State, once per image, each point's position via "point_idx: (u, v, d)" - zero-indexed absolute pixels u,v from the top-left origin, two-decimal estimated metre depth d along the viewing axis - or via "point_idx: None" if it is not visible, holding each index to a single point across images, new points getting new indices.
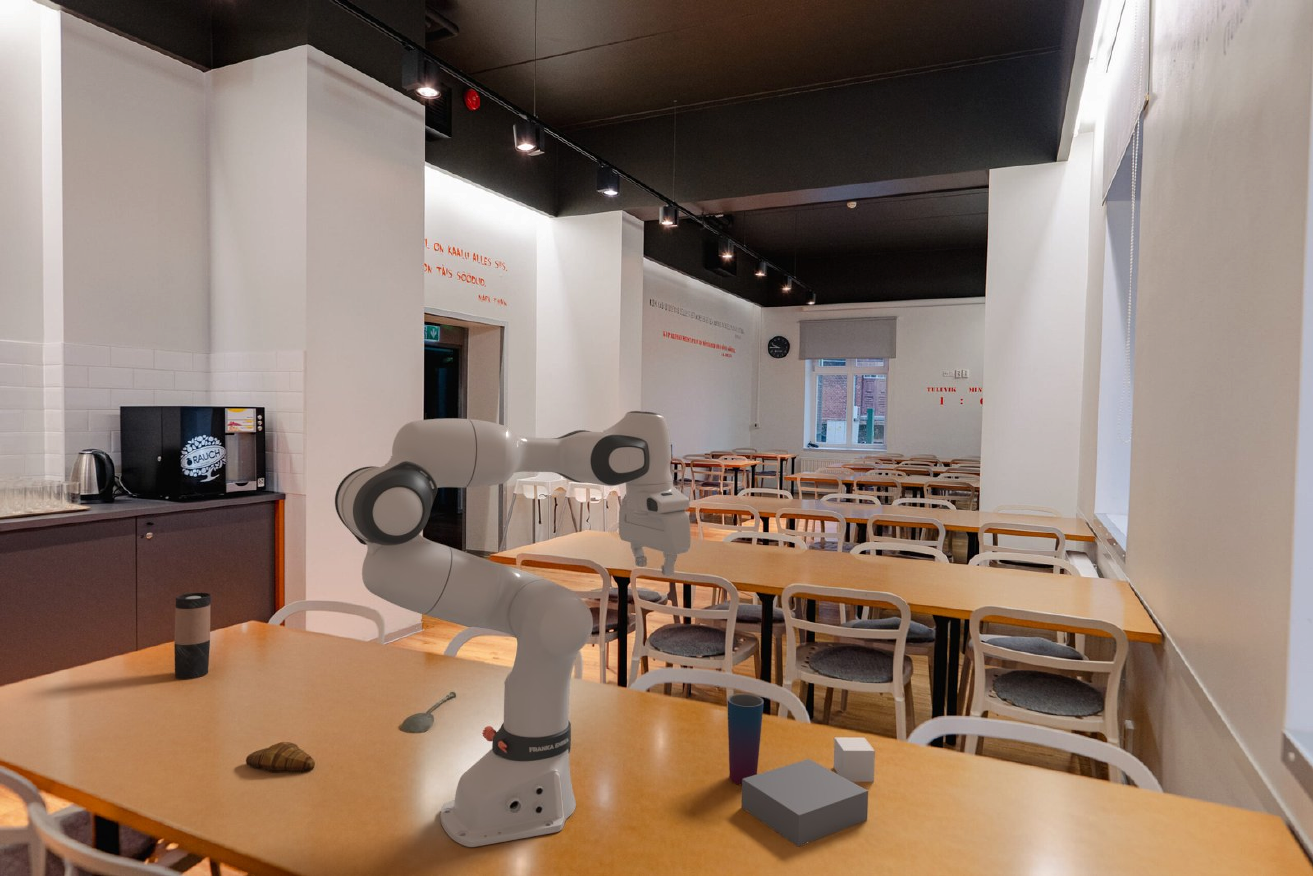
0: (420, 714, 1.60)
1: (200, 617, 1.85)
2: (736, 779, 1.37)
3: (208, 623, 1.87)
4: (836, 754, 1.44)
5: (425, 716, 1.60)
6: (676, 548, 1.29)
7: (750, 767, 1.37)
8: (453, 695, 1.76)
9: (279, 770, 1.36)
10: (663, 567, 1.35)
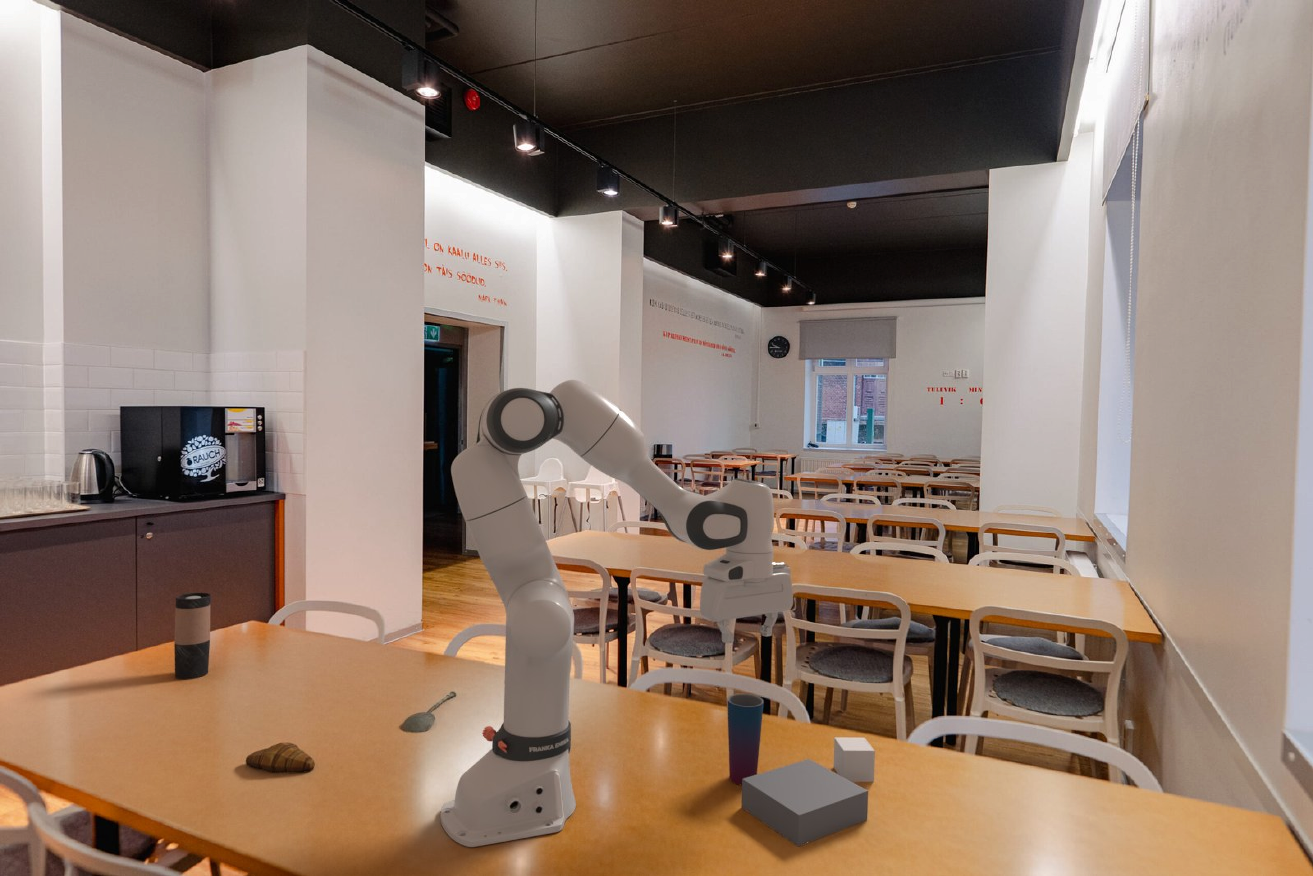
0: (421, 713, 1.60)
1: (200, 617, 1.85)
2: (736, 779, 1.37)
3: (208, 623, 1.87)
4: (836, 754, 1.44)
5: (426, 715, 1.60)
6: (700, 611, 1.34)
7: (750, 767, 1.37)
8: (453, 695, 1.76)
9: (278, 770, 1.36)
10: None
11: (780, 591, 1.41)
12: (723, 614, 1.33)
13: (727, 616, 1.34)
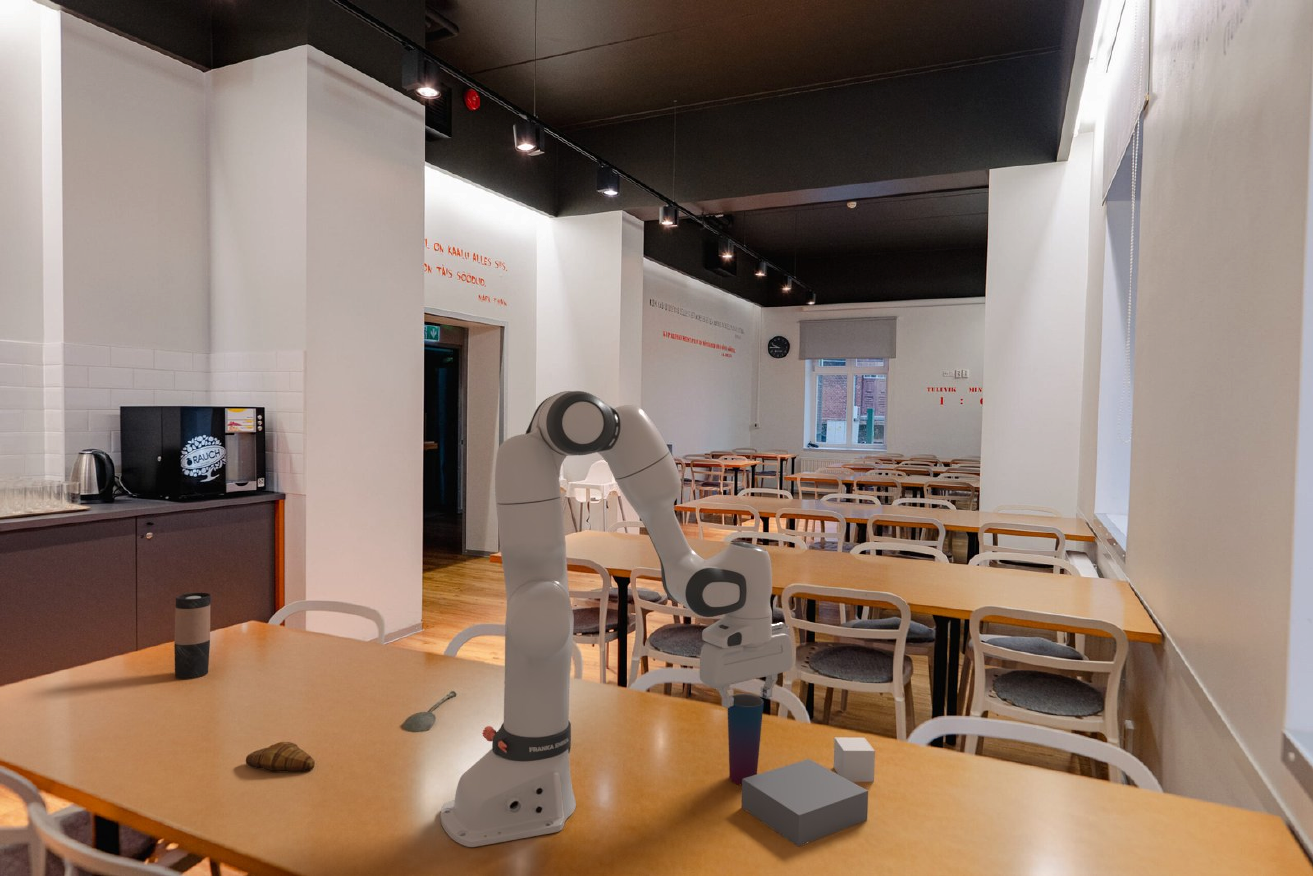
0: (422, 713, 1.61)
1: (200, 617, 1.85)
2: (736, 779, 1.37)
3: (208, 623, 1.87)
4: (836, 754, 1.44)
5: (427, 715, 1.60)
6: (700, 677, 1.35)
7: (750, 767, 1.37)
8: (453, 694, 1.77)
9: (278, 769, 1.36)
10: None
11: (779, 653, 1.41)
12: (723, 680, 1.34)
13: (727, 682, 1.34)
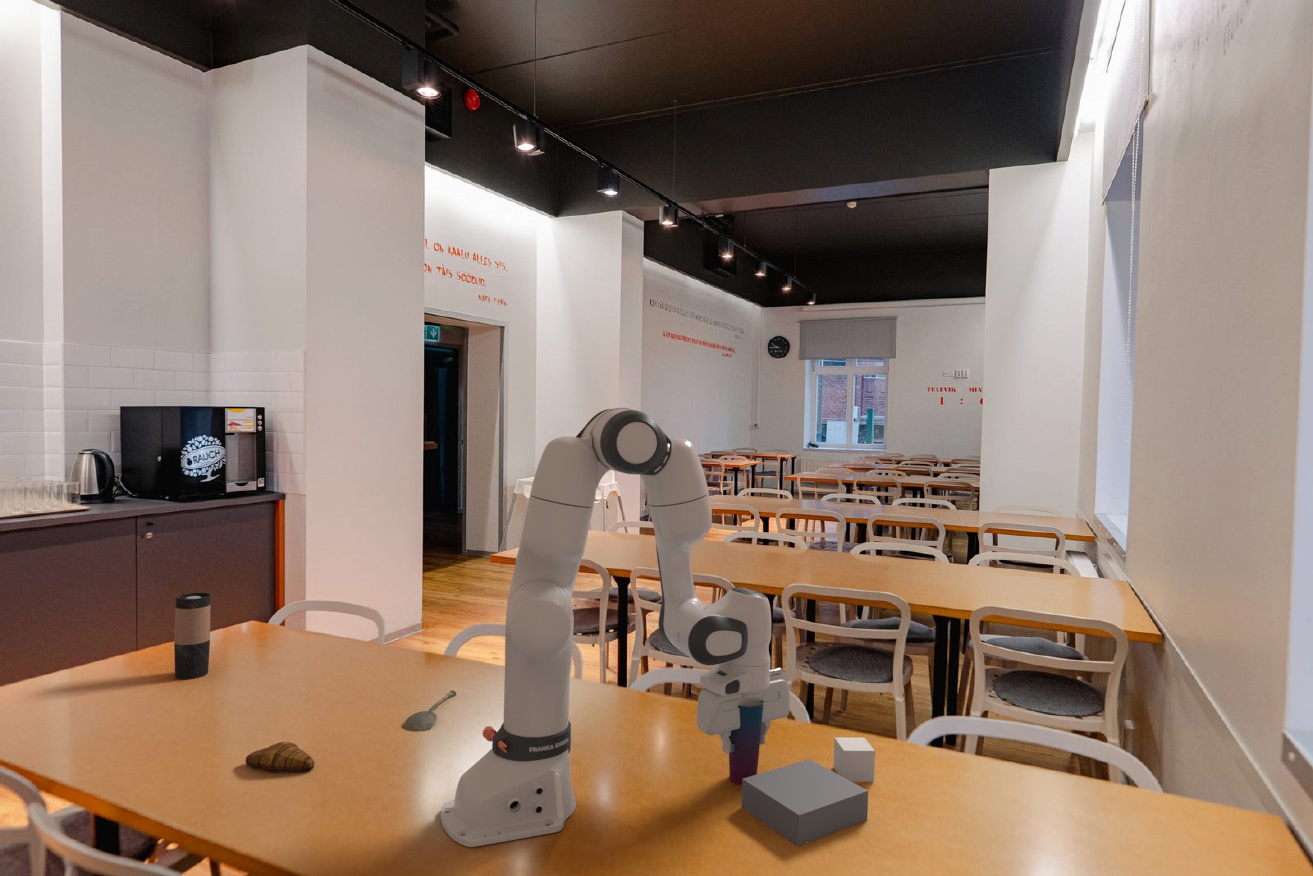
0: (423, 712, 1.61)
1: (200, 617, 1.85)
2: (736, 779, 1.37)
3: (208, 623, 1.87)
4: (836, 754, 1.44)
5: (428, 714, 1.61)
6: (697, 724, 1.35)
7: (750, 767, 1.37)
8: (453, 694, 1.77)
9: (278, 770, 1.36)
10: None
11: (777, 699, 1.41)
12: (720, 727, 1.34)
13: (724, 729, 1.34)
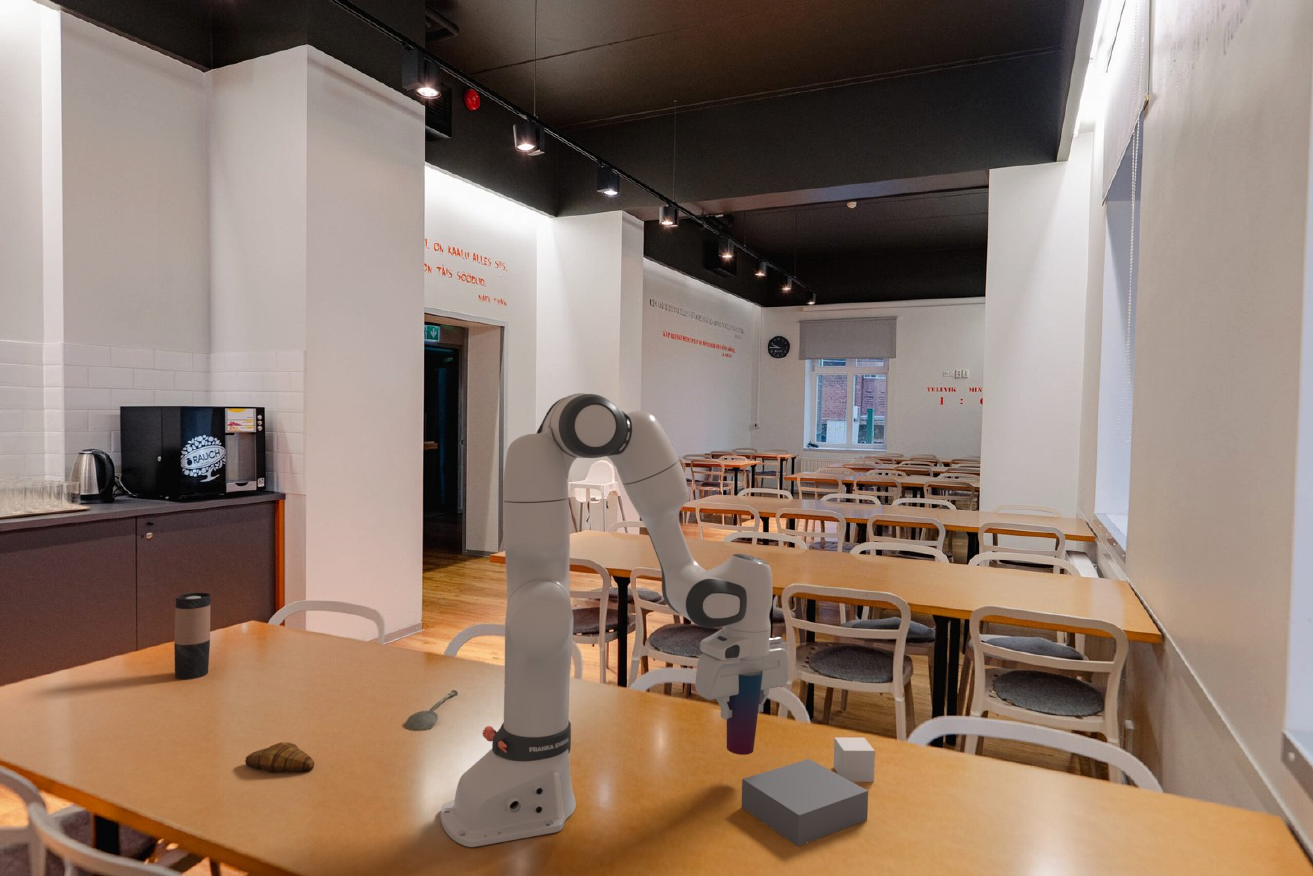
0: (424, 712, 1.61)
1: (200, 617, 1.85)
2: (733, 748, 1.37)
3: (208, 623, 1.87)
4: (836, 754, 1.44)
5: (429, 713, 1.61)
6: (696, 688, 1.34)
7: (747, 736, 1.36)
8: (455, 693, 1.77)
9: (278, 770, 1.36)
10: None
11: (776, 667, 1.41)
12: (718, 692, 1.33)
13: (722, 694, 1.34)
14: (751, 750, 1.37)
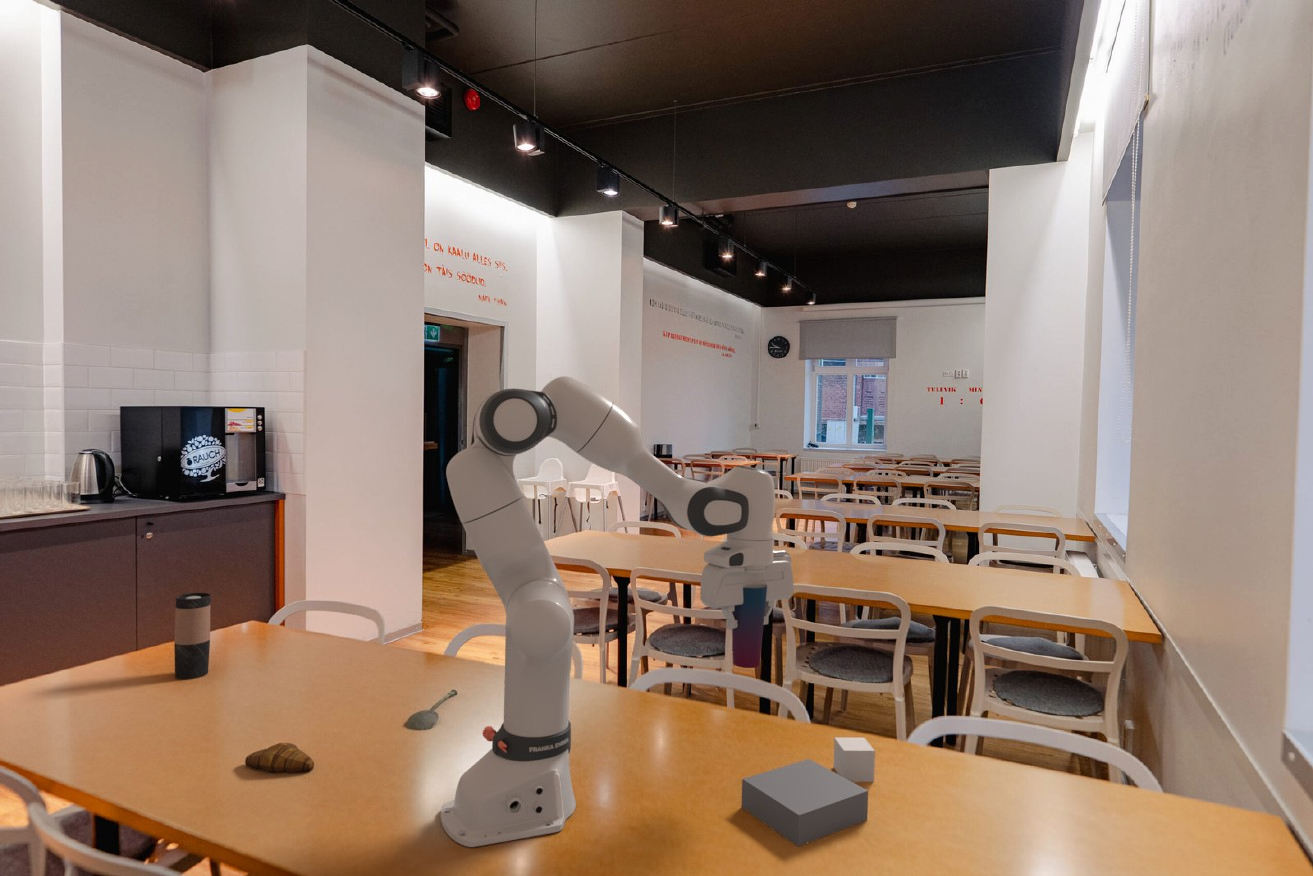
0: (424, 711, 1.62)
1: (200, 617, 1.85)
2: (739, 662, 1.37)
3: (208, 623, 1.87)
4: (836, 754, 1.44)
5: (430, 713, 1.61)
6: (701, 598, 1.34)
7: (753, 649, 1.36)
8: (454, 693, 1.78)
9: (278, 771, 1.36)
10: None
11: (781, 579, 1.41)
12: (723, 601, 1.33)
13: (727, 603, 1.34)
14: (757, 664, 1.37)
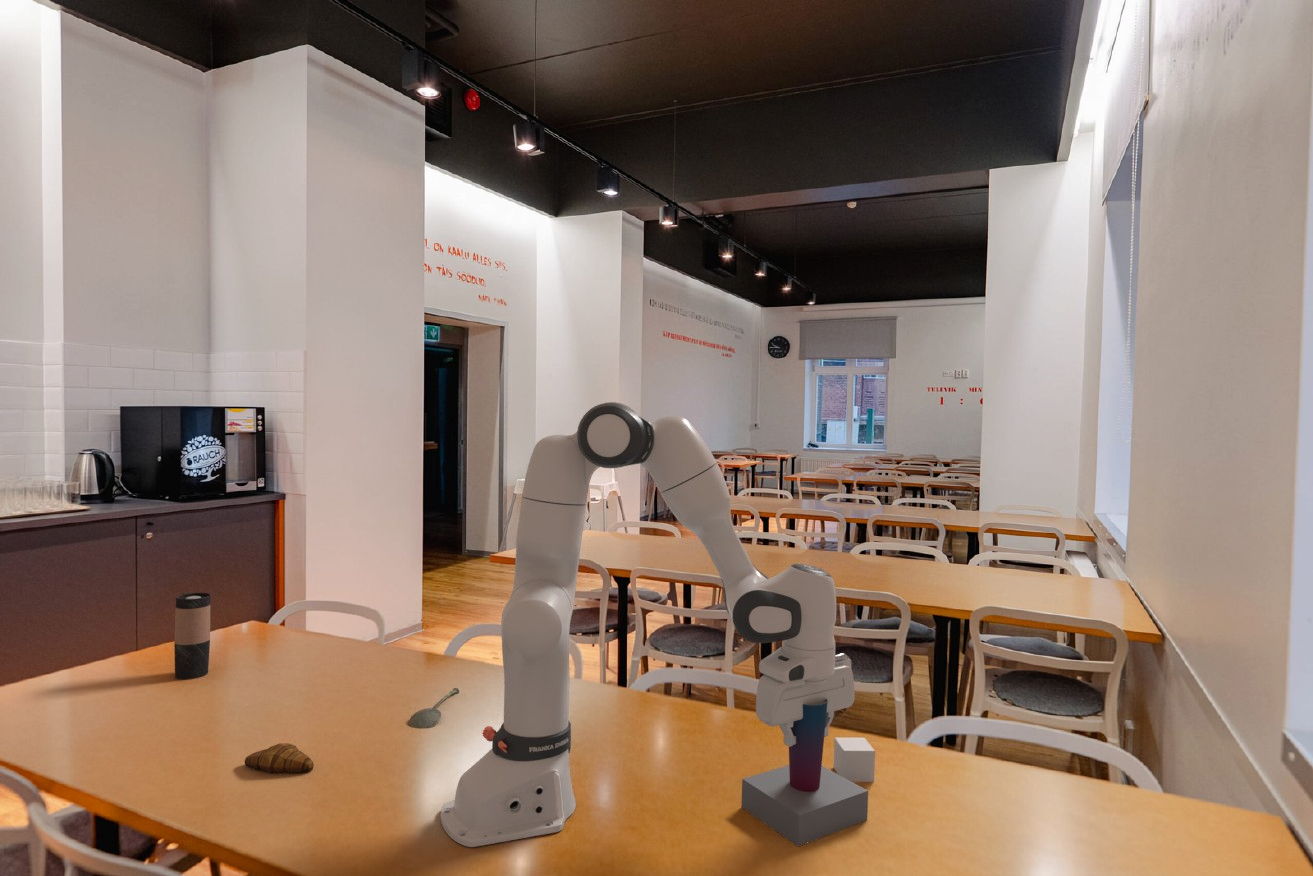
0: (427, 710, 1.63)
1: (200, 617, 1.85)
2: (798, 785, 1.25)
3: (208, 623, 1.87)
4: (836, 754, 1.44)
5: (433, 711, 1.62)
6: (757, 714, 1.23)
7: (814, 772, 1.25)
8: (456, 691, 1.79)
9: (277, 771, 1.36)
10: None
11: (841, 687, 1.29)
12: (782, 718, 1.21)
13: (786, 719, 1.22)
14: (818, 786, 1.25)
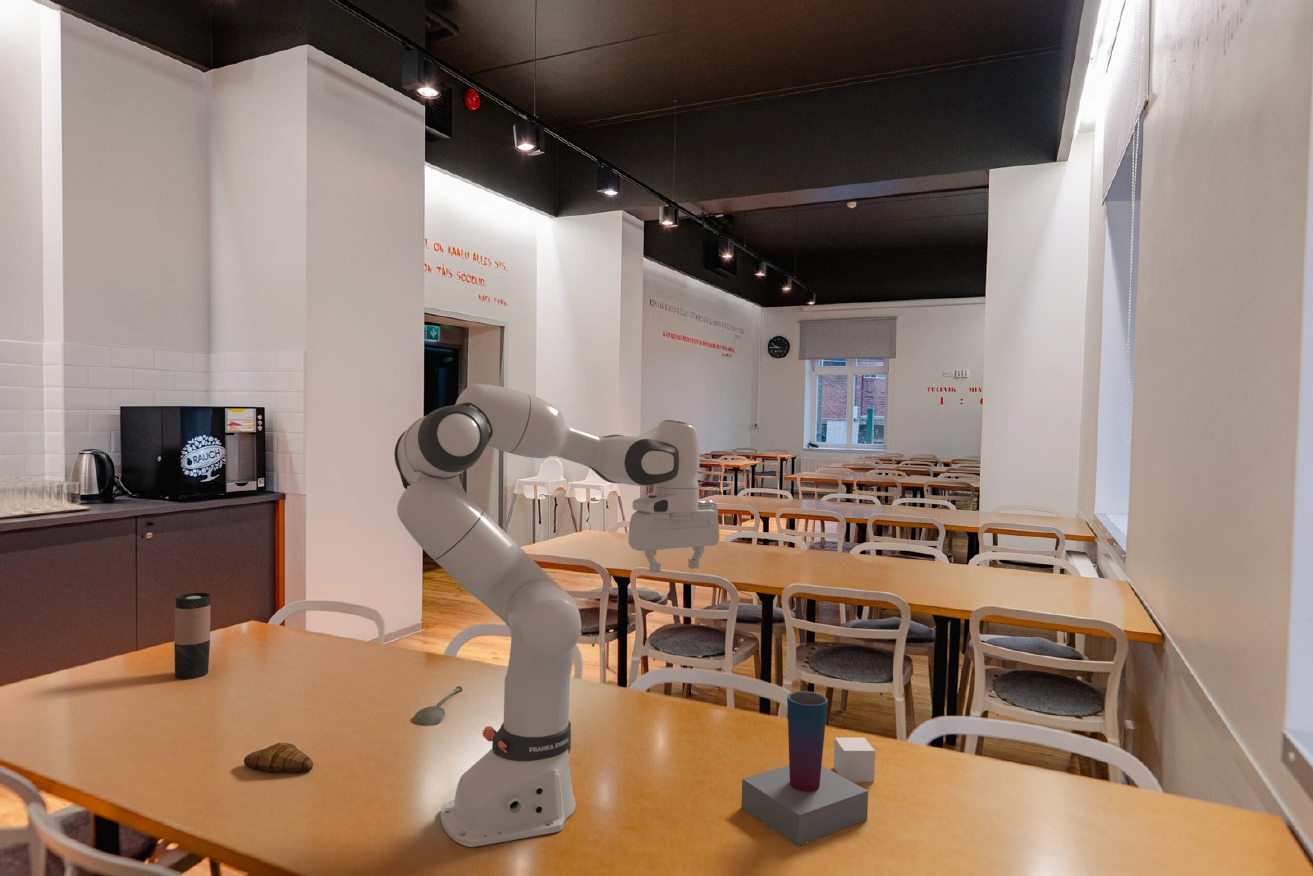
0: (431, 707, 1.64)
1: (200, 617, 1.85)
2: (798, 785, 1.25)
3: (208, 623, 1.87)
4: (836, 754, 1.44)
5: (436, 709, 1.64)
6: (629, 542, 1.44)
7: (814, 771, 1.25)
8: (459, 689, 1.80)
9: (277, 771, 1.36)
10: None
11: (706, 526, 1.51)
12: (649, 544, 1.43)
13: (653, 546, 1.44)
14: (818, 786, 1.25)
